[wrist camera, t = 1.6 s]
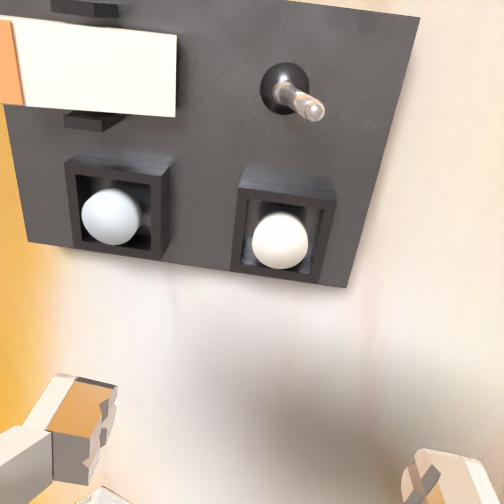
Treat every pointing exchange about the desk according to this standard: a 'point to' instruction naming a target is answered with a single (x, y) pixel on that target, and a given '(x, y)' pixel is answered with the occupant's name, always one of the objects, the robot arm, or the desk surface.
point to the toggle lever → (298, 100)
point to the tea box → (103, 498)
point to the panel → (223, 133)
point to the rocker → (86, 67)
